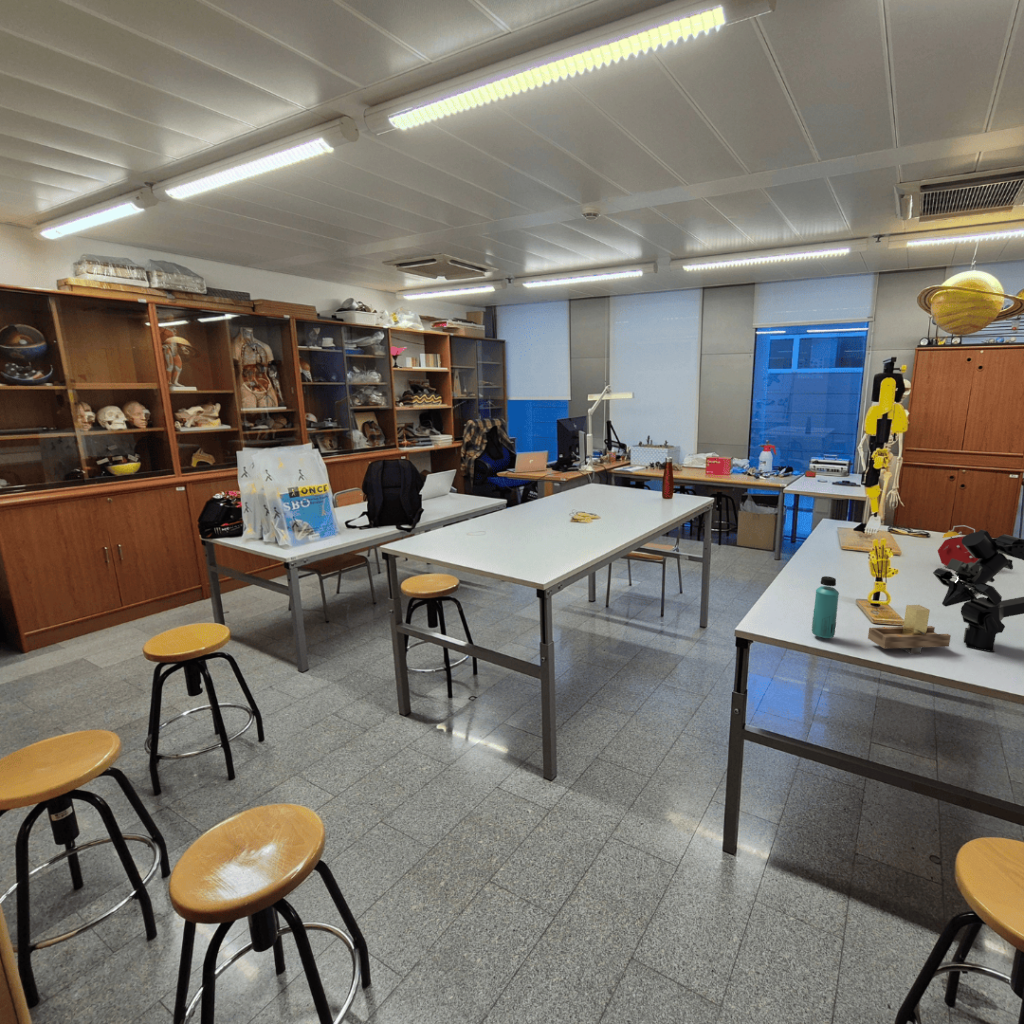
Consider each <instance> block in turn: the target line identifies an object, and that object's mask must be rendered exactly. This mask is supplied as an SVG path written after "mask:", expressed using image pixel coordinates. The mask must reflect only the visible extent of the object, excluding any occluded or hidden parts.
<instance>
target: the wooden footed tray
mask: <svg viewBox="0 0 1024 1024" xmlns="http://www.w3.org/2000/svg"><path fill="white" fill-rule="evenodd" d="M935 628H936V627H934V626H933V625H927V631H926V634H923V635H905V634H903V633H902V632H903V626H889V627H888V626H882V627H869V628H868V633H867V639H868V640H870V641H871V642H873V643H874V644H876V645H878V646H879V647H881V648H883V649H884V650H885V649H901V650H903V651H905V652H907V653H908V654H910V655H916V654H917V655H919V654H922V648H941V647H950V642H951V634H949V633H937V632H935Z"/></svg>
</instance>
